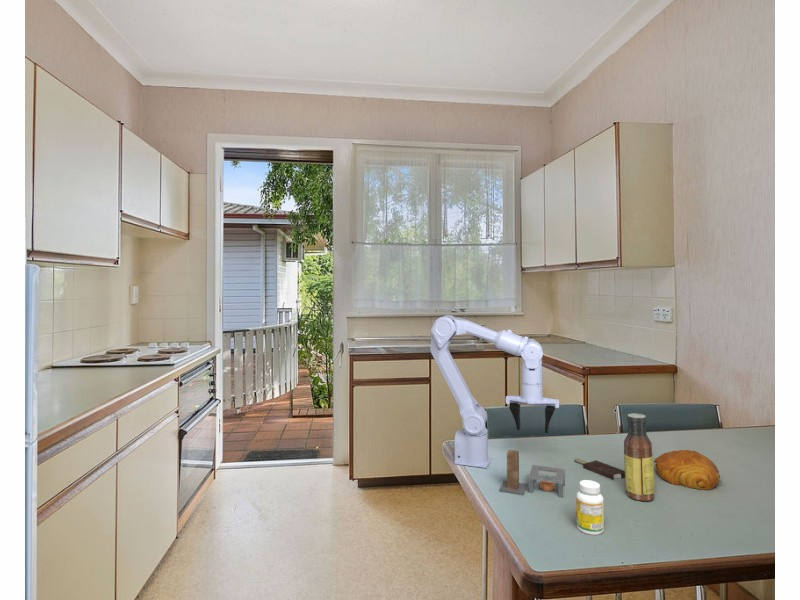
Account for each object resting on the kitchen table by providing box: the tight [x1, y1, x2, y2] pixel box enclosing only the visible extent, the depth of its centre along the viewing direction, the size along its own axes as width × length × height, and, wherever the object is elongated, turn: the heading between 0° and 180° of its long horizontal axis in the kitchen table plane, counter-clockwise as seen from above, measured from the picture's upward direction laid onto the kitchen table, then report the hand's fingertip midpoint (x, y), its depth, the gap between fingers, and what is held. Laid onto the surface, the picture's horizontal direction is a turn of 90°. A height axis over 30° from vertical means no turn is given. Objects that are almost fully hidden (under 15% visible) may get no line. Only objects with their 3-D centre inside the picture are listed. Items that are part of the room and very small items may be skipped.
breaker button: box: [539, 480, 555, 492], centre depth 115 cm, size 3×3×2 cm
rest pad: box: [498, 479, 528, 496], centre depth 116 cm, size 6×6×1 cm
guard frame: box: [528, 464, 566, 499], centre depth 115 cm, size 8×8×4 cm
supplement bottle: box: [575, 479, 605, 536], centre depth 96 cm, size 5×5×10 cm
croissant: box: [653, 449, 720, 491], centre depth 121 cm, size 14×16×8 cm
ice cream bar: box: [574, 458, 625, 481], centre depth 127 cm, size 5×2×15 cm
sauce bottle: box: [623, 412, 655, 502], centre depth 110 cm, size 7×6×20 cm
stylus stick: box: [506, 449, 520, 490], centre depth 115 cm, size 3×3×9 cm
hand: (532, 430), depth 129 cm, fingers open, 7 cm apart
